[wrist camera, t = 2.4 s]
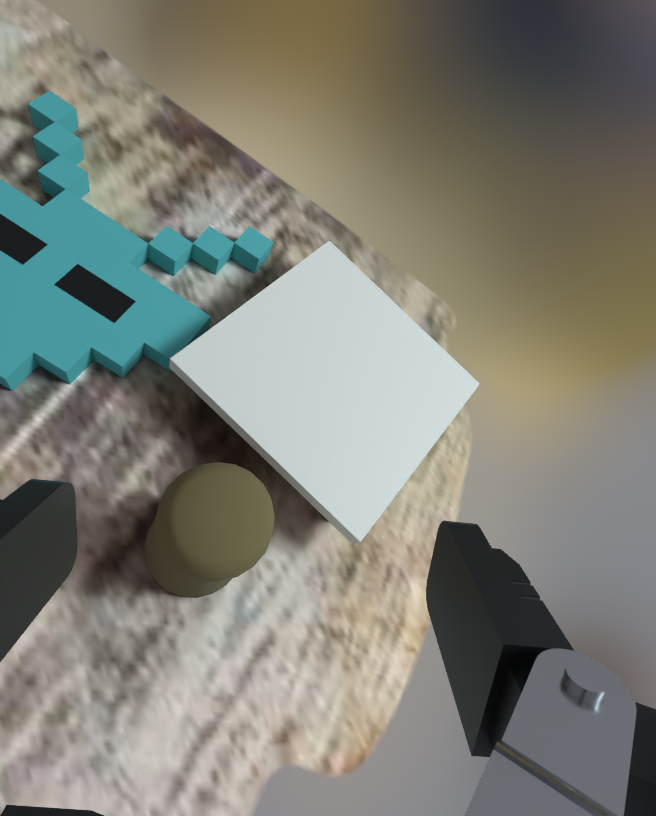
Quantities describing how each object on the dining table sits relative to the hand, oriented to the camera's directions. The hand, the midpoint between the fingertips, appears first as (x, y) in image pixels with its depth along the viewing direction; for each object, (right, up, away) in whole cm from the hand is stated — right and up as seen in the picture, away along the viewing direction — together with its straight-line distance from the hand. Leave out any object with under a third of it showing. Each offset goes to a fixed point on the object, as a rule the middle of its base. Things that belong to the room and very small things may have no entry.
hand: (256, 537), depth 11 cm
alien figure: (-16, +13, +24) cm, 32 cm away
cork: (-7, -6, +19) cm, 21 cm away
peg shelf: (+1, +4, +26) cm, 26 cm away
